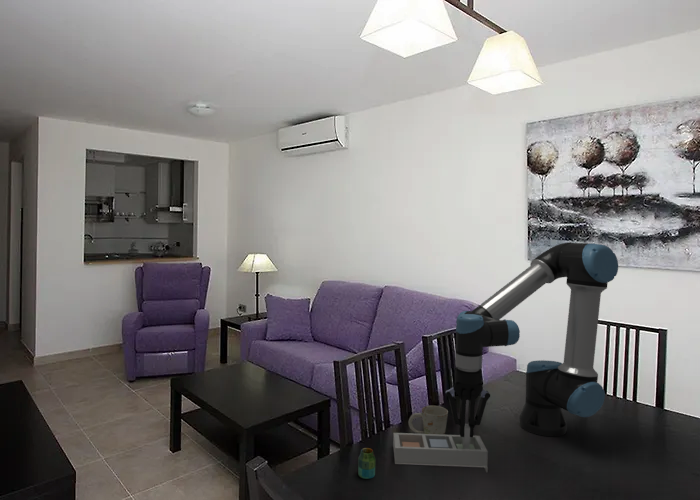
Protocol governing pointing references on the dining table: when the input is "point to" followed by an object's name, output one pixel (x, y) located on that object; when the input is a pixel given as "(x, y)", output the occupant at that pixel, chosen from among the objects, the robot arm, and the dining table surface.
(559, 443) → the dining table surface
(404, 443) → the key
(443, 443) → the key
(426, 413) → the mug
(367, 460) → the jar
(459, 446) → the key
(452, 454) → the three-slot tray
